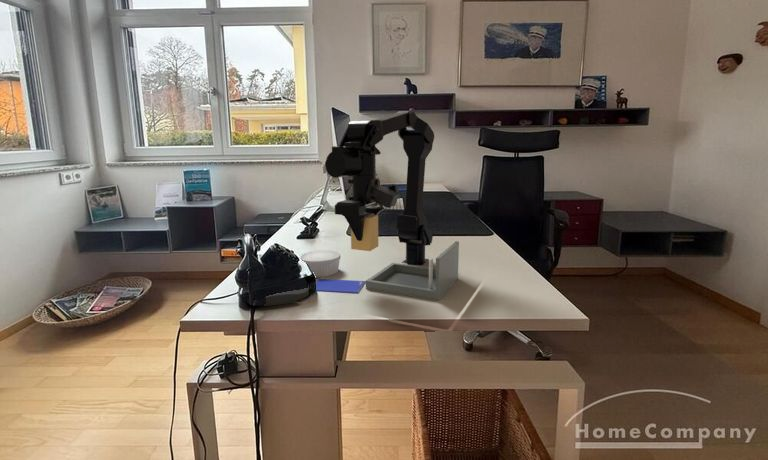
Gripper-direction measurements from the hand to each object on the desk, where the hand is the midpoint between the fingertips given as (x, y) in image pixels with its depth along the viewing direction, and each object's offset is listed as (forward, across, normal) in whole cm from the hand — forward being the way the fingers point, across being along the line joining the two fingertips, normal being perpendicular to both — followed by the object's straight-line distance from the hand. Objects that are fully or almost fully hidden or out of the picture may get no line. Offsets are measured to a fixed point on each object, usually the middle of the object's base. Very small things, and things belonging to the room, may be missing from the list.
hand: (364, 238), depth 104 cm
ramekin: (+13, +6, +17) cm, 22 cm away
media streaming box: (+14, -11, +18) cm, 26 cm away
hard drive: (+14, -3, +6) cm, 15 cm away
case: (+13, +6, -10) cm, 17 cm away
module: (+2, 0, 0) cm, 2 cm away
